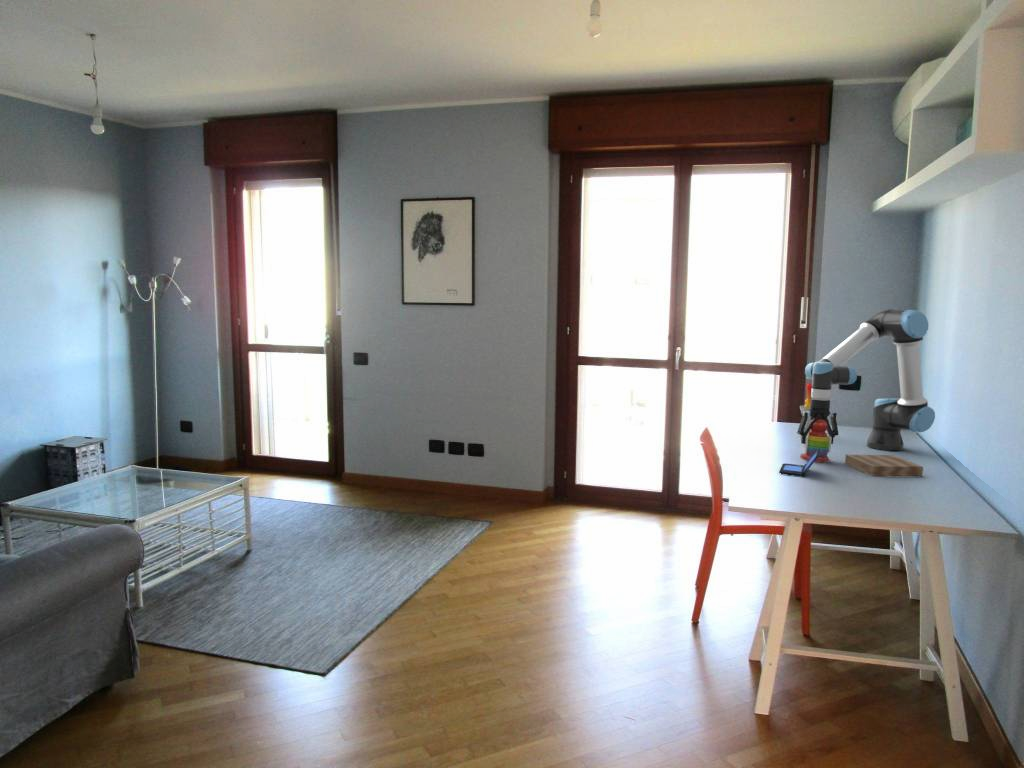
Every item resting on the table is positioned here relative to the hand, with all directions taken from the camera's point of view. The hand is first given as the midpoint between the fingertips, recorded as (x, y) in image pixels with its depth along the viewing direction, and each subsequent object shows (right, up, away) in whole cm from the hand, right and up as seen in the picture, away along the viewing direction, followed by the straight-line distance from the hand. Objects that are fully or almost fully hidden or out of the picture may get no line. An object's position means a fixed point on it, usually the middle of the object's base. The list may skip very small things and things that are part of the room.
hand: (816, 451), depth 298 cm
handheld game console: (-16, -6, -22) cm, 28 cm away
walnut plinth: (+20, -6, -15) cm, 26 cm away
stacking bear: (0, -4, 0) cm, 4 cm away
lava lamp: (+18, +2, +53) cm, 56 cm away
